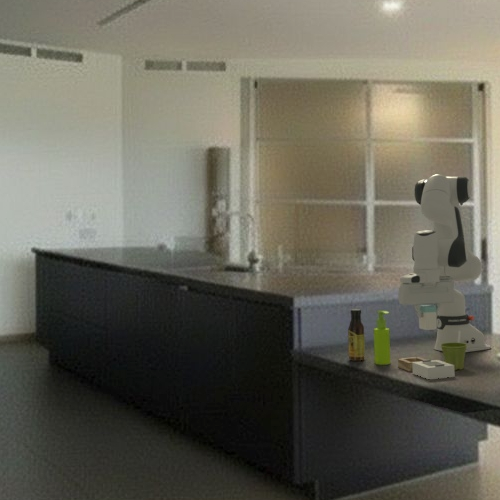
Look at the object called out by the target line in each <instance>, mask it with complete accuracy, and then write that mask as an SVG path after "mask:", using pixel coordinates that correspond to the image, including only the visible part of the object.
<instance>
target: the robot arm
mask: <svg viewBox="0 0 500 500" xmlns="http://www.w3.org/2000/svg"><path fill="white" fill-rule="evenodd" d="M471 194H472V184H471V182H470V180H469V179H468V178H467V176H462V175H458V176H445V175H444V174H438V173H436V174H433V175H431V176H430V177H428V178H427V179H426V178H424V179H421V180H418V181H417V182H416V183H415V184H414V188H413V196H414V197H413V198H414V200H415V201H416V203H417V204H418V205H419V206H420V208H421V209H420V210H421V212H422V214H423V216H424V217H425V218H427V219H428V220H429V221H431V222H433V230H432V229H423V230H418V231H416V232H415V233H414V237H413V243H412V244H413V245H412V248H411V254H412V255H411V256H412V257H411V258H412V260H413V262H414V264H413V267H412V268H413V271H412V272H410V273H408V274H404V275H402V276H400V279H399V281H400V284H399V287H398V297H397V298H398V303H399V304H400V305H401V306H413V307H414V310H415V311H416V313H417V315H416V316H417V318H418V319H419V318H421V317H423V312H421V311H420V309H419V308H420V305H433V306H436V327H437V329H436V330H437V332H436V333H437V334H436V342H435V345H434V348H433V349H434V350H436V351H440V352H443V350H442V347H441V346H440V344H443V343H465V344H467V347H466V350H465V353H469V352H477V351H484V350H490V349H492V347H491V345H490V344H487V343H486V341H485V340H486V339H485V336H484V334H483V332H482V331H481V330H479V329H477V328H476V326H474V325H472V324H471V322H474V320H475V316H474V315H467V314H466V297H465V295H464V294H463V293H462V292H461V291H460V290H459V289H456V288H455V282H468V281H469V282H470V281H475V280H477V279H478V278H479V277H480V276H481V274H482V270H483V265H482V261H481V259H480V258H479V256H476V255H475V254H474V253H473V252H472V251H471V250H470V249H469V247H468V245H467V244H466V241H465V235H464V227H463V222H462V221H463V220H462V213H461V212H462V211H461V206H463V204H464V203H466V202H468V201H469V200H470V197H471ZM470 321H471V322H470Z"/></svg>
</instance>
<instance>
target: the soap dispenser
mask: <svg viewBox="0 0 500 500" xmlns="http://www.w3.org/2000/svg"><path fill="white" fill-rule="evenodd" d="M376 313H378V318H377V319H376V328H373V349H374V352H373V353H374V356H373V357H374V364H375V365H379V366H385V365H390V364H391V337H390V328H388V327H387V322H386V321H387V320H386V318H384V315H389V314H390V312H389V311H388V310H377V311H376Z"/></svg>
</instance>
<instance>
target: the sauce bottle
mask: <svg viewBox="0 0 500 500" xmlns="http://www.w3.org/2000/svg"><path fill="white" fill-rule="evenodd" d="M361 315H362V309H360V308H352V309H350V323H349V325H348V329H347V333H348V334H347V337H348V338H347V341H348V342H347V343H348V344H347V345H348V360H349V361H353V362H360V361H361V360H362V361H364V360H365V356H366V352H365V351H366V350H365V326H364V324H363V323H362V318H361V317H362V316H361Z"/></svg>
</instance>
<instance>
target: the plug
mask: <svg viewBox="0 0 500 500" xmlns="http://www.w3.org/2000/svg"><path fill="white" fill-rule="evenodd" d="M419 309H420V311H421V312H423V317H421V318H419V317H418V327H419V328H418V329H420V330H425V331H430V330H431V331H432V330H438V328H437V317H436V306H434V305H433V304H420V308H419Z"/></svg>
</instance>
